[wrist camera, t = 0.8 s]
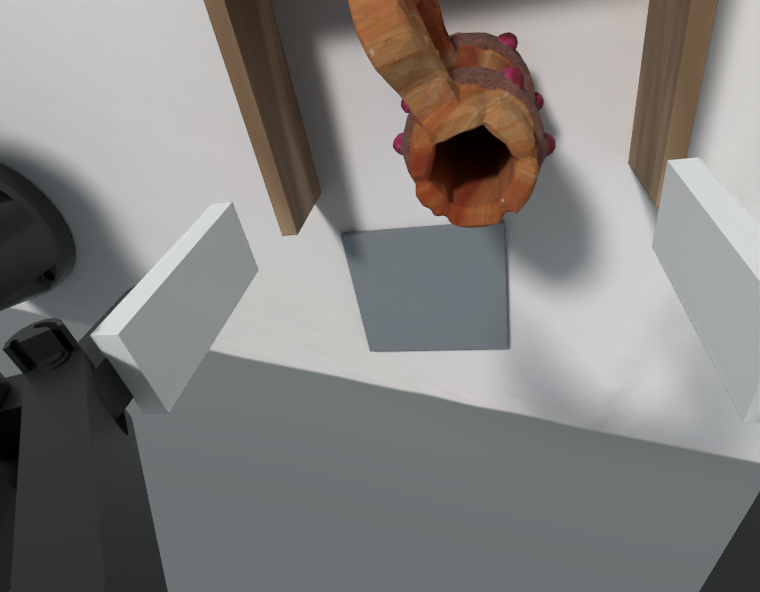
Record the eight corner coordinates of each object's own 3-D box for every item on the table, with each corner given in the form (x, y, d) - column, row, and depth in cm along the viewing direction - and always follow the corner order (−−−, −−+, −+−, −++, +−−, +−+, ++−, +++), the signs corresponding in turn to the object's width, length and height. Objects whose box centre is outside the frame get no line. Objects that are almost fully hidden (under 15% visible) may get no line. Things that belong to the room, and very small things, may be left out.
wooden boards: (307, 194, 42) (282, 235, 36) (228, -87, 31) (174, -88, 25) (646, 160, 36) (676, 205, 30) (701, -204, 25) (765, -237, 19)
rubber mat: (371, 347, 52) (370, 351, 51) (342, 232, 44) (341, 236, 43) (507, 344, 49) (507, 348, 48) (504, 220, 40) (504, 224, 40)
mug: (554, 117, 35) (593, 219, 23) (453, 171, 39) (443, 283, 27) (455, -100, 29) (440, -111, 17) (345, -11, 32) (270, 32, 20)
